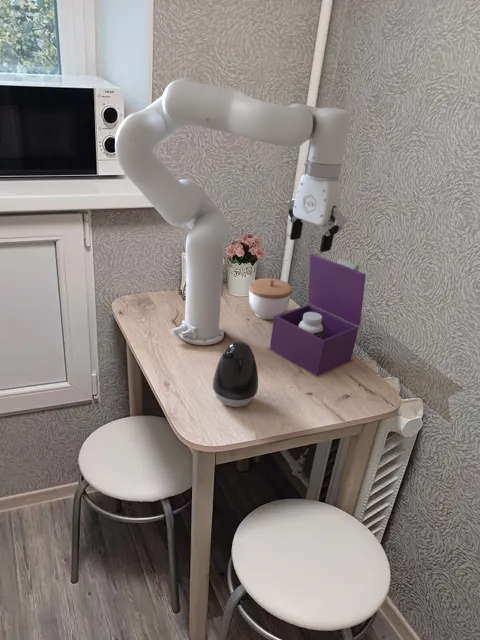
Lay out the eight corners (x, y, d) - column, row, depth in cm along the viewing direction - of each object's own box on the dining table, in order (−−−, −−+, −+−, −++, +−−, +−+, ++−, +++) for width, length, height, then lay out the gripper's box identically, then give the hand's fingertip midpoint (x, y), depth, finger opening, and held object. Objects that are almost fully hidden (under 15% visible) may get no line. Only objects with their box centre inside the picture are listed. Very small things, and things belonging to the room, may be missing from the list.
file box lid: (363, 275, 123) (379, 266, 125) (309, 254, 133) (325, 246, 136) (358, 326, 132) (372, 316, 134) (308, 303, 143) (322, 294, 145)
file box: (317, 376, 131) (324, 341, 125) (269, 349, 141) (274, 316, 136) (351, 360, 138) (358, 327, 132) (303, 335, 148) (309, 303, 143)
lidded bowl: (252, 302, 166) (255, 269, 160) (291, 309, 162) (296, 276, 156) (241, 318, 156) (245, 284, 150) (283, 326, 152) (288, 291, 146)
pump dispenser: (202, 400, 120) (205, 342, 111) (230, 382, 126) (235, 326, 118) (237, 419, 114) (243, 359, 106) (264, 400, 121) (272, 342, 113)
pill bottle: (312, 362, 135) (320, 323, 129) (290, 354, 137) (296, 316, 131) (321, 352, 139) (328, 314, 133) (299, 345, 142) (305, 308, 136)
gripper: (284, 164, 121) (273, 236, 131) (342, 180, 110) (326, 258, 119) (306, 161, 125) (294, 232, 135) (365, 177, 114) (347, 253, 123)
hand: (309, 244), depth 127 cm, fingers open, 9 cm apart
